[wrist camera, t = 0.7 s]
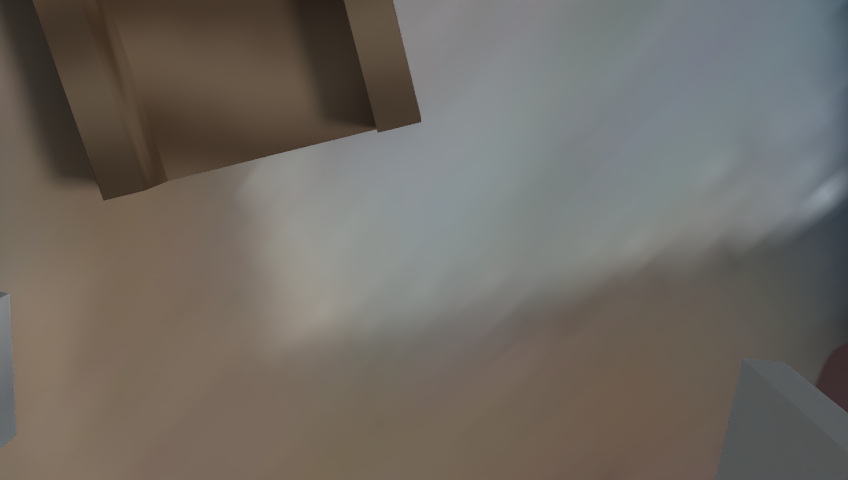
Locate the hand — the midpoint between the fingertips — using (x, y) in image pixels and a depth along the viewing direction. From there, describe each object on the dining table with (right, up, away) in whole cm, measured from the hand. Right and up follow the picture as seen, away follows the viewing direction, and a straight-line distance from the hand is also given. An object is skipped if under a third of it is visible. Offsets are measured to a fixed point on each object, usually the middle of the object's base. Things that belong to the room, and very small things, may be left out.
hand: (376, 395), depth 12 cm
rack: (-8, +15, +21) cm, 27 cm away
